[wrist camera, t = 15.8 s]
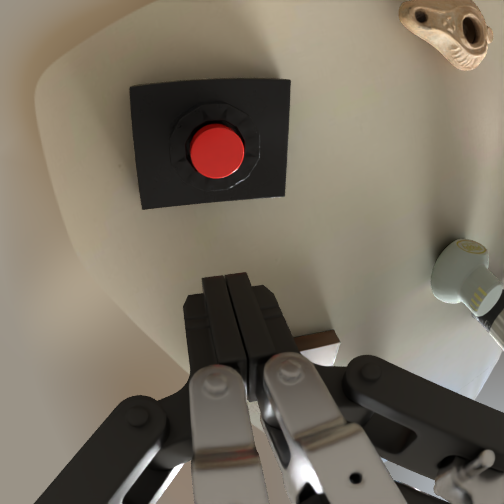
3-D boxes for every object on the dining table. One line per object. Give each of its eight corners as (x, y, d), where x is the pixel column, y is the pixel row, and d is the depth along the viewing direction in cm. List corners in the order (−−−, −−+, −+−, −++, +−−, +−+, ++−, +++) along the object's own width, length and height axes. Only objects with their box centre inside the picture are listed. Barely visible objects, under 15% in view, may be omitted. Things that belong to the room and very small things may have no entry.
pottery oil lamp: (377, -24, 18) (439, -46, 12) (434, 14, 23) (483, 4, 18) (403, 54, 20) (475, 39, 14) (454, 79, 26) (506, 73, 20)
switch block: (144, 199, 26) (140, 220, 23) (133, 85, 21) (125, 88, 17) (277, 187, 28) (292, 205, 25) (282, 78, 23) (299, 80, 20)
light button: (191, 172, 22) (192, 180, 21) (188, 125, 20) (189, 129, 19) (239, 169, 23) (244, 176, 21) (239, 122, 21) (244, 126, 20)
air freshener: (477, 236, 40) (519, 272, 31) (458, 279, 44) (494, 317, 36) (436, 235, 37) (484, 279, 29) (415, 284, 41) (454, 331, 33)
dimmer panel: (241, 387, 45) (245, 401, 43) (241, 346, 39) (245, 362, 37) (321, 370, 47) (327, 383, 45) (333, 329, 42) (341, 343, 40)
